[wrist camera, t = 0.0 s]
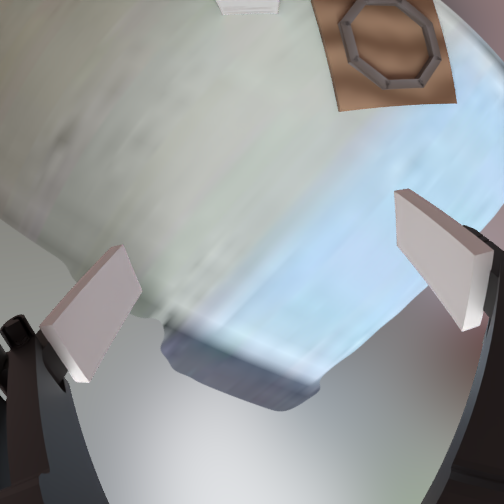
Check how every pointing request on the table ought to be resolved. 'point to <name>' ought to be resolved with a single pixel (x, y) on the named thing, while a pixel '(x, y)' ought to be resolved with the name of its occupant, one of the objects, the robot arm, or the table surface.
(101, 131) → the table surface
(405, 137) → the table surface
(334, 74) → the mount plate
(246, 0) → the supplement box
